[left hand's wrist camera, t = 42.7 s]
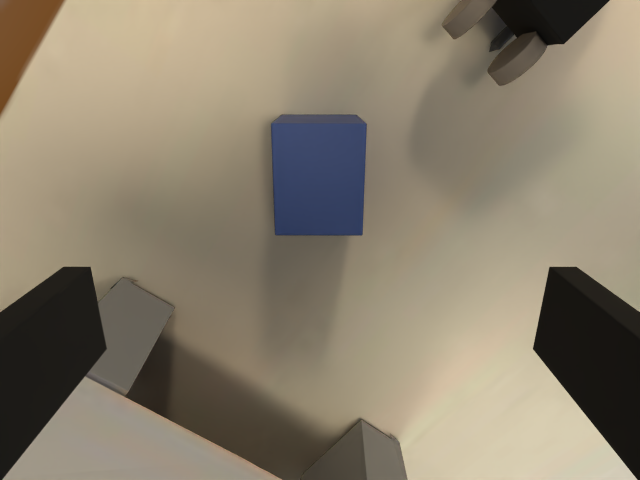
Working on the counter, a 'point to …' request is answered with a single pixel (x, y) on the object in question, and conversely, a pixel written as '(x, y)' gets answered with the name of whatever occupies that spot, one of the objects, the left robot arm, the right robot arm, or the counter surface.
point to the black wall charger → (523, 29)
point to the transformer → (163, 421)
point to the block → (318, 174)
